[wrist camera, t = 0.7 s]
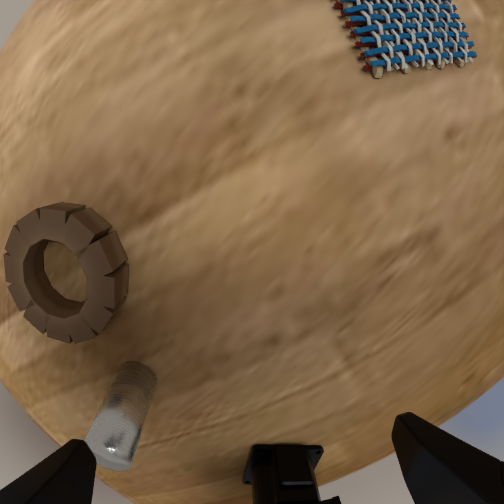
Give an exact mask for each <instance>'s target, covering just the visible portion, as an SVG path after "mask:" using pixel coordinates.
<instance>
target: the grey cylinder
mask: <svg viewBox="0 0 504 504" xmlns="http://www.w3.org/2000/svg"><path fill="white" fill-rule="evenodd" d="M156 384H157V379H156V376H155V374H154V373H153V371H152V370H151V369H150V368H148V367H147V366H145V365H143V364H141V363H138V362H127V363H125V364H123V365H122V366H121V368H120V369H119V371H118V373H117V375H116V377H115V379H114V381H113V383H112V385H111V387H110V389H109V391H108V393H107V395H106V397H105V399H104V401H103V403H102V405H101V407H100V409H99V411H98V413H97V415H96V417H95V419H94V421H93V424H92V426H91V428H90V430H89V432H88V434H87V436H86V438H85V442H86V443H87V444H88V446H89V447H90V449H91V451H92V452H93V454H94V455H95V457H96V461H97V464H98V465H100V466H102V467H104V468H107V469H110V470H114V471H125V470H128V469H129V468H130V467H131V464H132V461H133V457H134V454H135V451H136V447H137V444H138V441H139V437H140V434H141V431H142V428H143V425H144V421H145V418H146V415H147V412H148V409H149V406H150V402H151V399H152V396H153V393H154V390H155V387H156Z"/></svg>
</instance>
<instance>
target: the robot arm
mask: <svg viewBox="0 0 504 504" xmlns="http://www.w3.org/2000/svg"><path fill="white" fill-rule="evenodd" d="M392 442H393V445H394V448H395V451H396V454H397V458H398V461H399V464H400V467H401V471H402V474H403V477H404V480H405V483H406V485H407V487H408V490H409V492H410V494H411V496H412V498H413V500H414V503H415V504H504V462H503V461H501V462H500V460H499V459H497V458H495V457H493V456H491V455H489V454H487V453H485V452H483V451H481V450H479V449H477V448H475V447H473V446H471V445H470V444H468V443H466V442H464V441H462V440H460V439H458V438H456V437H455V436H453V435H451V434H449V433H447V432H445V431H444V430H442V429H440V428H438V427H436V426H435V425H433V424H431V423H429V422H428V421H426V420H424V419H422V418H420V417H419V416H417V415H415V414H413V413H412V412H406V413H403V414H400V415H397V416H396V418H395V422H394V426H393V430H392ZM323 452H324V450H323V447H321V446H268V445H255V446H253V447H252V450H251V453H250V457H249V460H248V463H247V466H246V470H245V473H244V476H243V484H246V485H252V495H253V504H341V501H340V498H339V496H336V497H332V499H328V500H323V501H321V499H320V495H319V490H318V486H317V482H316V478H315V474H314V469H315V467H316V465H317V463H318V462H319V460H320V458H321V456H322V454H323ZM96 464H97V461H96V457H95V455H94V454H93V452H92V451H91V449H90V447H89V446H88V444H87V443H86V442H85V441H84V440H79V439H72V440H70V441H69V442H67V443H66V444H65V445H63V446H62V447H61V448H59V449H58V450H56V451H55V452H54V453H52V454H51V455H50V456H48V457H47V458H45V459H44V460H43V461H41V462H40V463H38V464H37V465H36V466H35V467H33V468H31V469H30V470H29V471H27V472H26V473H24V474H23V475H21V476H20V477H19V478H18V479H16V480H14V481H13V482H11V483H10V484H9V485H7V486H6V487H4V488H3V489H1V490H0V504H91V502H92V495H93V487H94V479H95V471H96Z"/></svg>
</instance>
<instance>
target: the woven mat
mask: <svg viewBox="0 0 504 504" xmlns="http://www.w3.org/2000/svg"><path fill="white" fill-rule="evenodd" d="M337 1H338V2H339V3H338V2H336V3H335V4H334V5H335V7H336V8H339V9H343V11H341V12H340V13H341V15H342V16H345V17H346V19H347V21H346V22H345V24H346V26H347V27H351V29H352V31H351V32H350V34H351V36H352V37H355V38H356V40H357V42H355V45H356V47H360V49H361V51H362V53H361V54H360V55H361V58H362V59H364V58H365V60H366V62H367V63H368V64H369V65H365V66H363V67H364V70H365V71H372V73H373V75H374V77H375V78H381V77H382V75H383V68H386V67H387V71H393V70H394V67H395V68H396V69H401V70H402V71H403V72H404V73H409V72H410V71H411V68H412V67H411V66H410V65H409V64H412V66H413V67H418V66H419V65H418V63H419V62H421V66H425V68H426V70H431V69H433V68H432V65H434V64H433V62H436V66H437V67H438V68H441V69H443V68H444V66H445V63H446V64H448V63H453V59H454V60H455V62H456V64H457V65H459V66H460V67H462V66H464V64H465V63H467V62H469V61H470V63H471V62H473V60H472V58H476V56H477V55H476V52H473V51H470V52H469V50H468V49H470V48H472V47H471V46H474V43H473V41H471V42H466V40H467V37H469V36H468V34H467V33H466V32H464V31H463V32H462V30H464V28H466V27H465V24H464V23H460V22H459V20H458V19H460V17H459V15H458V14H456V13H454V12H455V10H457V8H456V7H455V5H451V0H337ZM381 3H382V4H381ZM391 3H392V4H391ZM402 3H404V4H402ZM424 3H425V4H424ZM445 4H447V5H448V6H447V5H445ZM395 12H397V13H395ZM420 12H421V13H420ZM429 12H430V13H432V14H430V13H429ZM398 13H399V14H398ZM449 13H450V14H449ZM354 15H361V16H354ZM423 21H425V22H423ZM445 21H447V23H445ZM453 21H455V22H456V23H454V22H453ZM391 22H392V23H391ZM400 22H402V23H400ZM375 24H376V25H375ZM359 25H366V26H365V27H361V28H360V26H359ZM448 30H451V31H452V32H451V31H448ZM405 31H407V32H408V33H409V34H408V33H405ZM417 31H418V33H417ZM429 31H430V32H429ZM396 32H397V33H398V34H397V33H396ZM384 34H385V35H384ZM364 35H371V36H372V37H364ZM424 40H425V42H426V43H425V42H424ZM432 40H435V41H436V42H437V43H436V42H432ZM443 40H444V42H443ZM454 40H455V41H456V42H455V41H454ZM411 41H412V42H411ZM400 42H402V44H403V45H400ZM369 46H375V47H376V46H377V47H378V48H375V49H371V50H370V48H369ZM449 49H450V51H451V52H450V51H449ZM457 49H460V51H461V52H459V51H457ZM429 51H430V53H431V54H429ZM403 54H409V56H406V57H404V56H403ZM377 56H381V57H382V60H378V59H377V58H376V57H377ZM394 56H395V57H394ZM463 59H464V60H463ZM398 65H399V66H398ZM393 66H394V67H393ZM399 67H400V68H399Z"/></svg>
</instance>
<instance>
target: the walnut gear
mask: <svg viewBox="0 0 504 504" xmlns="http://www.w3.org/2000/svg"><path fill="white" fill-rule="evenodd" d="M111 226H112V225H111V224H109V223H108V222H107V221H106V220H105V219H103V218H102V217H101V216H100V215H99V214H97V213H96V212H95V211H94V210H93V209H91V208H87V209H85V205H80V204H72V203H64V202H61V203H56V204H52V205H48V206H45V207H41V208H38V209H35V210H33V211H32V212H30V213H29V214H27V215H26V216H24V217H23V218H21V219H20V220H18V221H17V225H14V226H13V228H12V231H11V233H10V236H9V238H8V241H7V243H6V246H5V250H6V251H7V253H5V254H4V264H5V276H6V281H7V282H10V283H13V284H11V285H10V286H8V289H9V291H10V293H11V295H12V297H13V299H14V301H15V303H16V305H17V307H18V309H19V311H20V312H21V311H23V310H25V309H26V310H25V313H24V317H25V318H26V319H27V320H28V321H29V322H30V323H31V324H32V325H33V326H34V327H36V328H37V329H38V330H39V331H40V332H41V333H42V334H44V333H45V332H46V331H47V337H50V338H53V339H56V340H60V341H63V342H66V343H71V342H72V341H74V343H75V344H76V343H79V342H82V341H85V340H89V339H92V338H95V337H96V336H97V335H98V334H100V333H101V332H102V331H103V329H104V328H105V326H106V325H107V324H108V322H109V321H110V320H111V319H112V317H113V316H114V314H115V313H116V311H117V310H118V308H119V307H120V305H121V304H122V302H123V301H124V299H125V298H126V296H125V295H126V294H127V292H128V273H129V264H125V263H123V262H124V261H125V260H126V259H128V258H127V256H126V253H125V251H124V249H123V247H122V244H121V242H120V240H119V237H118V235H117V233H116V231H114V232H112V233H109V234H107V233H108V231H109V230H110V228H111ZM106 234H107V235H106ZM49 240H53V241H59V242H61V243H63V244H64V245H65V246H66V247H67V248H68V249H69V250H70V251H72V252H73V253H74V254H75V255H76V256H77V257H78V260H79V262H80V264H81V266H82V268H83V270H84V273H85V275H86V277H87V300H86V301H83V302H81V303H80V302H76V301H72V300H68V299H65V298H64V297H63V296H61V295H60V294H59V293H58V292H57V291H56V290H55V289H53V288H52V286H51V284H50V282H49V280H48V278H47V276H46V274H45V272H44V263H43V251H44V249H45V247H46V245H47V243H48V241H49Z"/></svg>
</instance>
